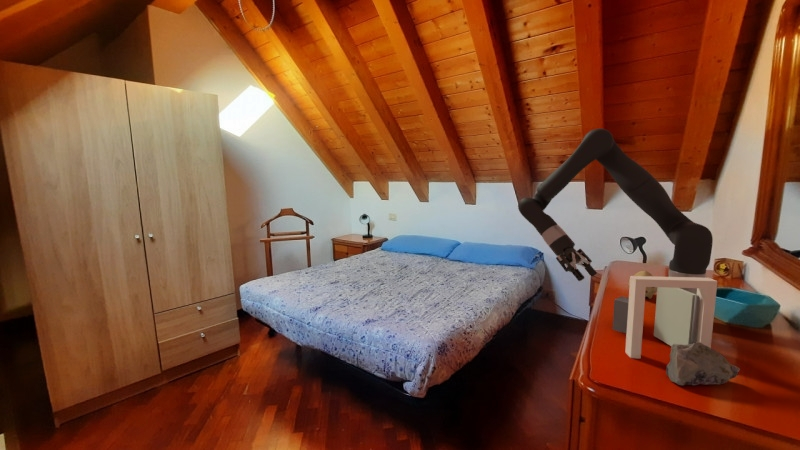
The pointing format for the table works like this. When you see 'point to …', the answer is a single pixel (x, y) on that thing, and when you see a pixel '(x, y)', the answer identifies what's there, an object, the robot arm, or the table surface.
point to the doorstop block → (620, 314)
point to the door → (676, 316)
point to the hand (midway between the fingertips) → (588, 277)
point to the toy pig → (649, 290)
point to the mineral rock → (698, 365)
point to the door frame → (639, 284)
